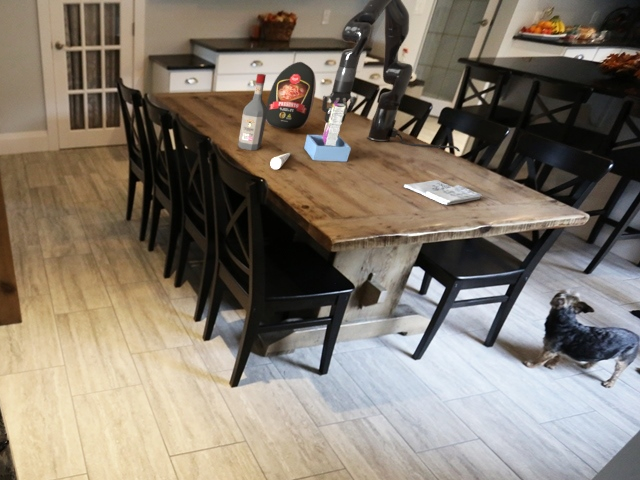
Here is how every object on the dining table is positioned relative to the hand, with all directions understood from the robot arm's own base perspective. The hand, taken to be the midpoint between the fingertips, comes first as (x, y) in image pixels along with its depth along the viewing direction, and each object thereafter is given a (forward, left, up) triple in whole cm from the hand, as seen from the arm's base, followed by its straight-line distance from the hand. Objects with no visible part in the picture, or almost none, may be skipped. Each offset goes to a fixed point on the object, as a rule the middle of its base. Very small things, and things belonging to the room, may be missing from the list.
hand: (333, 122), depth 214 cm
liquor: (+33, -6, -14) cm, 37 cm away
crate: (0, 0, -14) cm, 14 cm away
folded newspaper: (-33, +43, -14) cm, 56 cm away
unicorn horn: (+22, +14, -14) cm, 29 cm away
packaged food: (+10, -41, -14) cm, 45 cm away
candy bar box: (0, 0, -9) cm, 9 cm away
